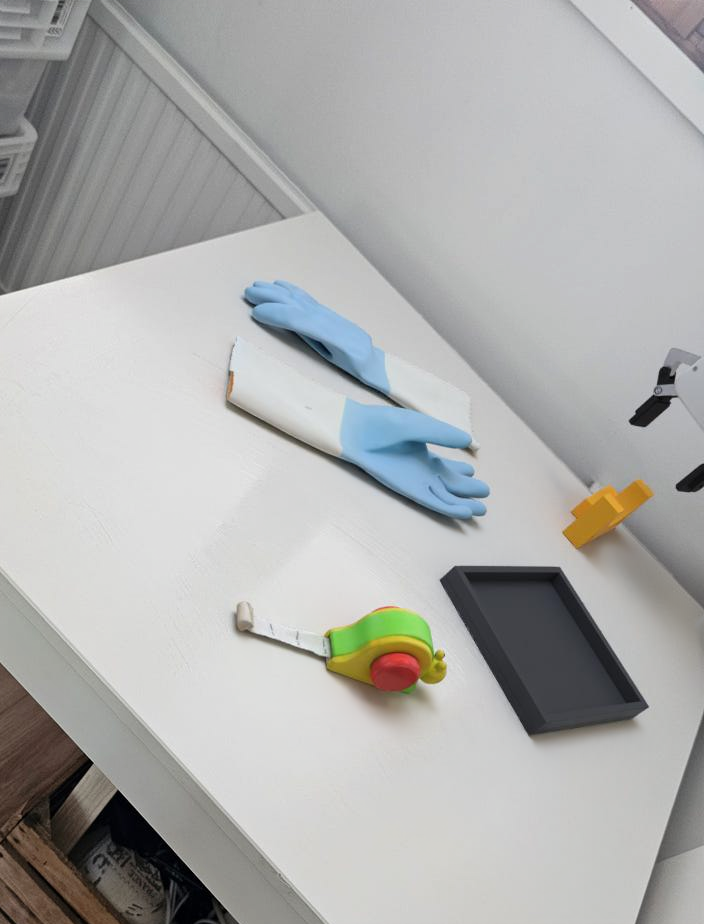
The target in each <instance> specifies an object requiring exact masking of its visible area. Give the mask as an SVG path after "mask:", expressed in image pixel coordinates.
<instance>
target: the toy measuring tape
mask: <svg viewBox="0 0 704 924" xmlns="http://www.w3.org/2000/svg"><path fill="white" fill-rule="evenodd" d="M236 627H237V628H238V630H239V631H240V632H243V631H246V630H248V631H249V632H251V633H252V634H255V635H258V636H259V635H260V636H262V637H263V636H264V637H266V638H269V639H271V640H272V639H273V640H276V641H279V642H281V643H284V644H287V645H290V646H293V647H295V648H298V649H302V650H305V651H309V652H311V653H313V654H315V655H317V656H318V657H325V663H326V669H328V670H329V671H330V672H331V671H332V672H334V673H337V674H340V675H342V676H345V677H348V678H350V679H353V680H356V681H359V682H362V683H365V684H368V685H372V686H374V687H376V688H377V689H379V690H382V691H385V692H389V693H390V692H392V693H393V692H395V693H396V692H403V693H405V694H410V693H412V692H414V691H415V690H416V687H417V684H418V681H419V680H420V681H421V682H422V683H425V684H428V685H437V684H439V683H441V682H442V681H443V680H444V679H445V677H446V676H447V672H448V669H447V663H446V662H445V661H444V660H443V659H444V658H445V656H446V654H445V651H444V650H441V649H437V650H436V651H435V648H434V644H433V638H432V632H431V628H430V625H429V623H428V622H427V621H426V620H425V619H424V618H423V617H422V616H421V615H420V614H419V613H417V612H415V611H412V610H411V609H407V608H402V607H399V606H396V605H395V606H394V605H393V606H392V605H387V606H381V607H378V608H375V609H374V610H373V611H371V612H369V613H368V614H366V615H365V616H362V617H361V618H360V619H358V620H357V621H355V622H353V623H351V624H348V625H345V626H340V627H333V628H330V629H328V630H327V631H326V632H325V633H324V635H321V634H320V633H318V632H314V631H313V632H312V631H309V630H306V629H305V630H303V629H297V628H294V627H291V626H286V625H283V624H279V623H277V622H273V621H271V620H269V619H266V618H263V617H259V616H255V615H254V607H253V606H252V604H251V603H250V602H247V601H240V602H238V603H237V604H236Z"/></svg>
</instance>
